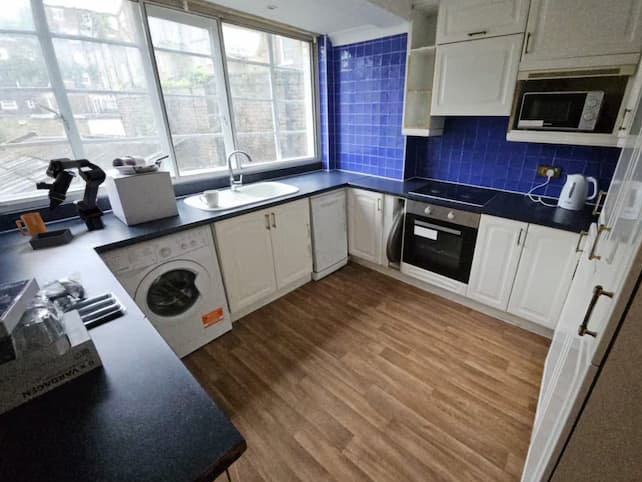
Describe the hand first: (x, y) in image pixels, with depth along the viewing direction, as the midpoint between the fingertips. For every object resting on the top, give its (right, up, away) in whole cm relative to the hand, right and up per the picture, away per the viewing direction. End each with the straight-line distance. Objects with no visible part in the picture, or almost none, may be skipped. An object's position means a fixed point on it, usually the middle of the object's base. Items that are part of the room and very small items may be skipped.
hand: (50, 209), depth 153 cm
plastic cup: (0, -4, +24) cm, 24 cm away
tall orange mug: (-2, -15, -4) cm, 16 cm away
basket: (+10, -17, -8) cm, 22 cm away
